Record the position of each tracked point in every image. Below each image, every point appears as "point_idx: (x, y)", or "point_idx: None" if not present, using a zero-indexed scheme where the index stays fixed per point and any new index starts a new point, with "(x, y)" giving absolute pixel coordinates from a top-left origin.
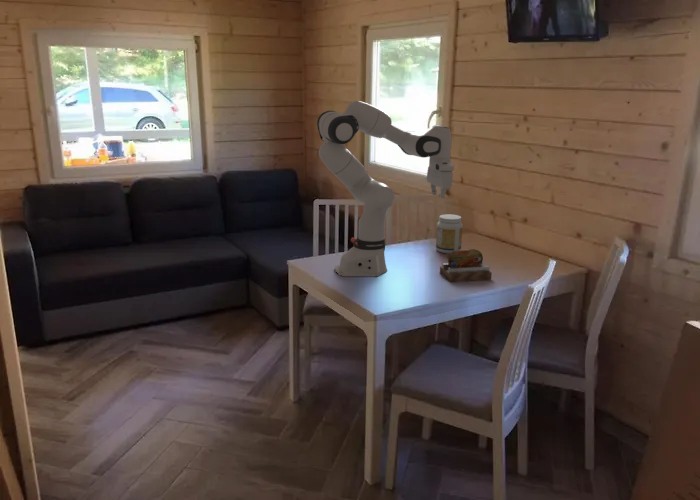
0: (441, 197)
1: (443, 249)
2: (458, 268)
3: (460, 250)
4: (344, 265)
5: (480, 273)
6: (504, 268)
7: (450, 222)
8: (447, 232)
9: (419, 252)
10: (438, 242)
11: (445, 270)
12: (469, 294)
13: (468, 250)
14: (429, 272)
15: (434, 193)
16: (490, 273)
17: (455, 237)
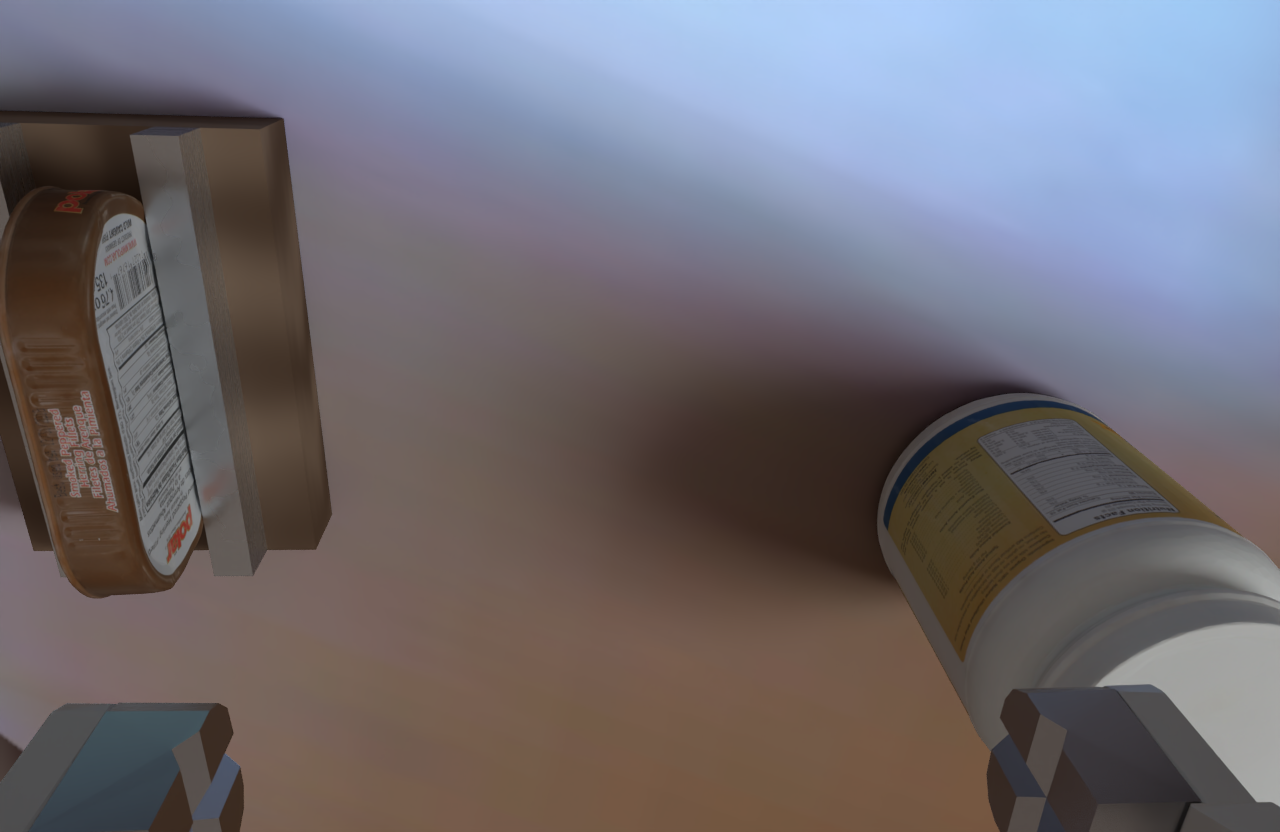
0: (51, 743)
1: (937, 435)
2: None
3: (50, 386)
4: None
5: (4, 447)
6: (374, 719)
7: (1045, 676)
8: (988, 563)
9: (1054, 193)
10: (1034, 431)
11: (99, 129)
12: None
13: (51, 479)
14: (322, 10)
15: (1019, 757)
16: (34, 536)
17: (926, 608)
